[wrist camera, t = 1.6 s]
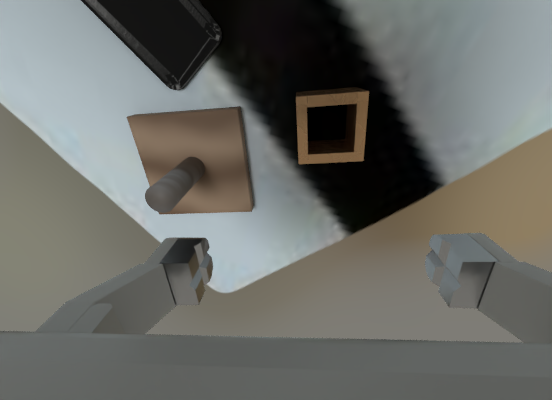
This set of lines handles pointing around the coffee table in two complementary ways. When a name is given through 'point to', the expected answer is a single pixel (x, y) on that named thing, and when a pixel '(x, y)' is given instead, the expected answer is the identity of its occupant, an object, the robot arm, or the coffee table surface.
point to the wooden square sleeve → (355, 126)
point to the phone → (163, 34)
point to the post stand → (194, 160)
